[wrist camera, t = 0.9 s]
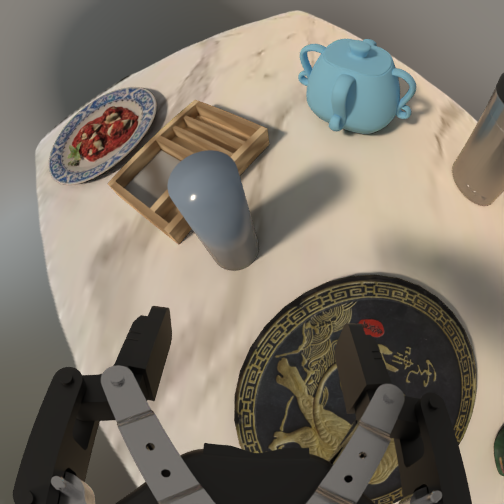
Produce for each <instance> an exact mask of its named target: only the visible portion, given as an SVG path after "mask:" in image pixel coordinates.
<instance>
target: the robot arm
mask: <svg viewBox="0 0 504 504" xmlns="http://www.w3.org/2000/svg"><path fill="white" fill-rule="evenodd" d="M452 173H453V178H454V181H455V183H456V185H457V187H458V188H459V189H460V191H461V192H462V193H463V194H464V195H465V196H466V197H467V198H468V199H469V200H470V201H472V202H474V203H476V204H478V205H482V206H488V205H490V204H492V203H493V202H494V201H495V200H496V199H497V198H498V196H499V195H500V194H501V193H502V192H503V191H504V73H503V74H502V75H501V77H500V79H499V81H498V83H497V85H496V88H495V90H494V92H493V94H492V96H491V98H490V100H489V102H488V104H487V106H486V108H485V110H484V112H483V114H482V116H481V118H480V120H479V121H478V123H477V125H476V127H475V129H474V130H473V132H472V134H471V136H470V137H469V139H468V141H467V143H466V144H465V146H464V148H463V149H462V151H461V153H460V154H459V156H458V157H457V159H456V161H455V162H454V164H453V168H452ZM171 340H172V328H171V318H170V310H169V308H166V307H158V306H152V308H151V310H150V312H149V315H148V316H142V315H141V316H140V317H138V318H137V319H136V320H135V321H134V322H133V324H132V326H131V328H130V330H129V332H128V335H127V337H126V339H125V341H124V344H123V346H122V348H121V350H120V353H119V355H118V357H117V360H116V362H115V364H114V366H112V367H109V368H108V369H106V370H105V371H104V372H103V374H100V375H81V373H80V372H79V371H78V370H77V369H75V368H72V367H65V368H62V369H60V370H59V371H57V372H56V374H55V375H54V377H53V379H52V381H51V384H50V386H49V388H48V391H47V393H46V396H45V398H44V400H43V403H42V405H41V407H40V410H39V413H38V415H37V418H36V421H35V423H34V426H33V428H32V431H31V434H30V437H29V440H28V443H27V446H26V449H25V452H24V455H23V458H22V461H21V464H20V468H19V471H18V475H17V478H16V482H15V486H14V490H13V499H14V502H15V504H95V496H94V493H93V491H92V489H91V488H90V486H89V485H87V484H86V483H85V479H86V474H87V469H88V465H89V461H90V457H91V453H92V448H93V445H94V440H95V436H96V433H97V429H98V426H99V422H100V421H106V420H116V421H117V425H118V428H119V430H120V432H121V435H122V437H123V439H124V441H125V443H126V445H127V447H128V449H129V451H130V453H131V455H132V457H133V459H134V461H135V463H136V465H137V467H138V469H139V470H140V472H141V474H142V476H143V478H144V479H145V481H146V482H145V483H143V484H142V485H141V486H139V487H138V488H137V489H135V490H134V491H133V492H131V493H130V494H128V495H127V496H126V497H124V498H123V499H121V500H120V501H118V502H117V503H116V504H375V503H374V502H373V501H372V500H371V499H369V498H368V497H367V496H366V495H365V494H364V493H363V492H364V490H365V488H366V487H367V485H368V483H369V482H370V480H371V478H372V476H373V475H374V473H375V471H376V469H377V467H378V465H379V463H380V461H381V460H382V458H383V456H384V454H385V452H386V450H387V448H388V446H389V443H390V441H391V438H394V443H395V449H396V454H397V460H398V466H399V472H400V478H401V485H402V492H403V499H402V500H401V501H400V502H399V504H472V502H471V496H470V491H469V487H468V482H467V478H466V473H465V469H464V465H463V461H462V457H461V454H460V450H459V446H458V443H457V439H456V436H455V433H454V429H453V426H452V423H451V420H450V417H449V414H448V411H447V408H446V405H445V402H444V400H443V399H442V398H441V397H440V396H439V395H438V394H436V393H432V392H429V393H426V394H424V395H423V396H422V397H421V398H420V399H419V398H414V397H409V396H405V395H404V394H403V392H402V391H401V390H400V389H399V388H398V387H397V386H395V385H392V383H391V380H390V377H389V374H388V371H387V368H386V365H385V363H384V360H383V357H382V354H381V353H380V349H379V346H378V344H377V342H376V341H375V339H374V338H373V337H372V336H371V335H366V334H365V331H364V328H363V326H362V324H354V323H346V324H345V325H344V326H343V329H342V332H341V334H340V337H339V339H338V341H337V344H336V347H335V360H336V365H337V369H338V374H339V378H340V383H341V387H342V392H343V397H344V402H345V407H346V412H347V414H354V413H355V415H356V419H355V421H354V422H353V424H352V425H351V427H350V429H349V430H348V432H347V433H346V435H345V437H344V438H343V440H342V441H341V443H340V444H339V446H338V447H337V449H336V450H335V452H334V453H333V454H332V455H331V457H330V458H329V459H328V461H327V460H325V459H324V458H321V457H319V456H316V455H313V454H310V453H309V448H282V449H278V450H273V451H268V452H263V453H254V452H250V451H246V450H243V449H239V448H236V447H233V446H228V445H217V444H208V443H204V449H198V450H193V451H190V452H187V453H185V454H182V455H179V453H178V452H177V450H176V448H175V447H174V445H173V444H172V442H171V440H170V439H169V437H168V435H167V434H166V432H165V430H164V429H163V427H162V425H161V423H160V422H159V420H158V418H157V416H156V415H155V413H154V412H153V411H152V410H151V408H150V407H149V405H148V403H147V400H152V401H155V398H156V394H157V390H158V387H159V383H160V380H161V376H162V373H163V369H164V366H165V362H166V359H167V355H168V352H169V348H170V345H171Z"/></svg>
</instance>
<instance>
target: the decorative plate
mask: <svg viewBox="0 0 504 504" xmlns="http://www.w3.org/2000/svg"><path fill="white" fill-rule="evenodd" d="M346 323H354V324H362V326H363V328H364V331H365V334H366V335H371V336H372V337H373V338H374V339H375V341H376V342H377V344H378V346H379V349H380V353H381V354H382V357H383V360H384V363H385V365H386V368H387V371H388V374H389V377H390V380H391V383H392V385H395V386H397V387H398V388H399V389H400V390H401V391H402V392H403V394H404V395H405V396H409V397H414V398H419V399H420V398H421V397H422V396H423V395H424V394H426V393H429V392H432V393H436V394H438V395H439V396H440V397H441V398H442V399H443V400H444V402H445V405H446V408H447V411H448V414H449V417H450V420H451V423H452V426H453V429H454V433H455V436H456V439H457V443H458V445H459V444H460V442H461V440H462V439H463V437H464V434H465V432H466V429H467V427H468V424H469V422H470V419H471V416H472V412H473V407H474V402H475V396H476V367H475V361H474V356H473V351H472V348H471V345H470V343H469V340H468V338H467V335H466V333H465V330H464V328H463V327H462V325H461V324H460V322H459V321H458V319H457V318H456V316H455V315H454V314H453V312H452V311H451V310H450V309H449V308H448V307H447V306H446V305H445V304H444V303H443V302H442V301H441V300H440V299H439V298H438V297H436V296H435V295H433V294H431V293H430V292H428V291H427V290H425V289H423V288H422V287H420V286H419V285H416V284H413V283H410V282H408V281H405V280H402V279H399V278H394V277H387V276H381V275H362V276H350V277H346V278H342V279H338V280H334V281H330V282H327V283H325V284H322V285H320V286H318V287H316V288H314V289H312V290H309V291H307V292H305V293H304V294H302V295H301V296H299V297H298V298H296V299H295V300H294V301H292V302H291V303H289V304H288V305H286V306H285V307H284V308H283V309H282V310H281V311H280V312H279V313H278V314H277V315H276V316H275V317H274V318H273V319H272V320H271V321H270V322H269V323H268V324H267V325H266V326H265V327H264V328H263V330H262V331H261V333H260V334H259V336H258V337H257V339H256V340H255V342H254V343H253V344H252V346H251V347H250V350H249V352H248V354H247V356H246V359H245V361H244V363H243V366H242V368H241V370H240V374H239V379H238V383H237V388H236V392H235V415H234V421H235V426H236V430H237V435H238V440H239V444H240V446H241V448H242V449H243V450H246V451H250V452H254V453H263V452H268V451H273V450H278V449H282V448H309V453H310V454H313V455H316V456H319V457H321V458H324V459H325V460H327V461H328V459H329V458H330V457H331V455H332V454H333V453H334V452H335V450H336V449H337V447H338V446H339V444H340V443H341V441H342V440H343V438H344V437H345V435H346V433H347V432H348V430H349V429H350V427H351V425H352V424H353V422H354V421H355V419H356V415H355V413H354V414H347V412H346V407H345V402H344V397H343V392H342V387H341V383H340V378H339V374H338V369H337V365H336V360H335V347H336V344H337V341H338V339H339V337H340V334H341V332H342V329H343V326H344V325H345V324H346ZM363 493H364V494H365V495H366V496H367V497H368V498H369V499H371V500H372V501H373V502H374V503H375V504H393V503H396V502H398V501H399V500H401V499H403V492H402V485H401V478H400V472H399V466H398V460H397V454H396V449H395V443H394V438H391V441H390V443H389V446H388V448H387V450H386V452H385V454H384V456H383V458H382V460H381V461H380V463H379V465H378V467H377V469H376V471H375V473H374V475H373V476H372V478H371V480H370V482H369V483H368V485H367V487H366V488H365V490H364V492H363Z"/></svg>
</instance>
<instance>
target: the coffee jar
mask: <svg viewBox="0 0 504 504" xmlns="http://www.w3.org/2000/svg"><path fill="white" fill-rule="evenodd" d="M494 457H495V463H496V467H497V470H498V472H499V474H500V475H502V476H504V427H503V428H502V429H501V431H500V432H499V434H498V435H497V438H496V439H495V442H494Z"/></svg>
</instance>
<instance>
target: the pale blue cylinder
mask: <svg viewBox="0 0 504 504" xmlns="http://www.w3.org/2000/svg"><path fill="white" fill-rule="evenodd" d="M168 193H169V196H170V198H171V199H172V201H173V202H174V204H175V205H176V207H177V208H178V210H179V211H180V212H181V214H182V215H183V217H184V218H185V220H186V221H187V222H188V224H189V225H190V227H191V228H192V230H193V231H194V232H195V234H196V235H197V237H198V238H199V239H200V241H201V242H202V244H203V245H204V246H205V248H206V249H207V251H208V252H209V253H210V255H211V256H212V258H213V259H214V260H215V262H216V263H217V264H218V265H219V266H220V267H222V268H224V269H226V270H231V271H236V270H241V269H244V268H246V267H248V266H249V265H250V264H251V263H252V262H253V261H254V260H255V259H256V257H257V254H258V251H259V243H258V239H257V235H256V232H255V228H254V225H253V221H252V218H251V214H250V211H249V207H248V204H247V200H246V197H245V193H244V190H243V186H242V183H241V179H240V176H239V172H238V169H237V166H236V164H235V162H234V160H233V159H232V158H231V157H230V156H228V155H227V154H225V153H222V152H219V151H214V150H207V151H200V152H197V153H194V154H192V155H190V156H188V157H186V158H184V159H183V160H182V161H181V162H180V163H178V164H177V166H176V167H175V168H174V169H173V171H172V172H171V174H170V177H169V180H168Z"/></svg>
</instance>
